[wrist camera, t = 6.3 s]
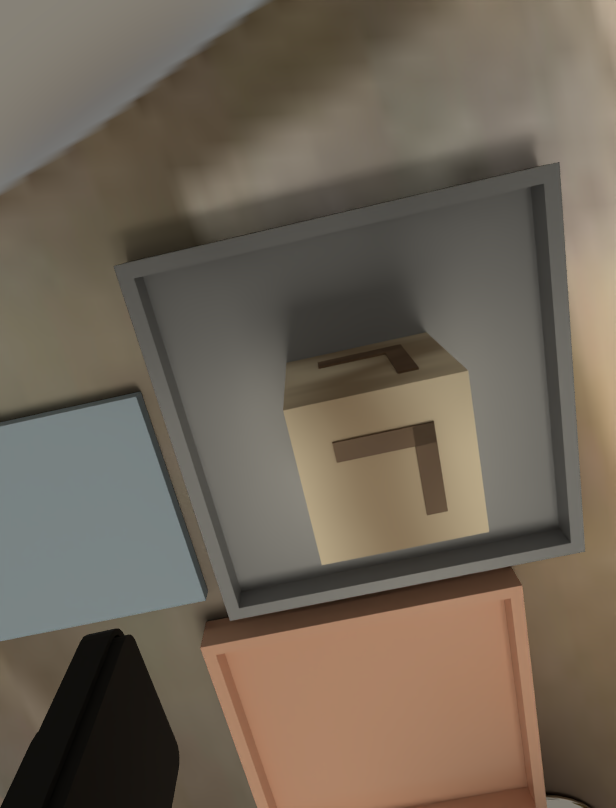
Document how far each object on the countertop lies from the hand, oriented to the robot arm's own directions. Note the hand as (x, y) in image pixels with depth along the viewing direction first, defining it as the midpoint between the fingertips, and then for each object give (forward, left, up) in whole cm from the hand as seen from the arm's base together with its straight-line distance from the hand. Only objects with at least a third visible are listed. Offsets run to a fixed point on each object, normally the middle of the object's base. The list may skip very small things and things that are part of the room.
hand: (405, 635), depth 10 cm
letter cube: (-1, 0, -11) cm, 11 cm away
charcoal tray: (-1, 0, -12) cm, 12 cm away
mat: (+12, +2, -12) cm, 17 cm away
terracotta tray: (+1, +15, -12) cm, 19 cm away
